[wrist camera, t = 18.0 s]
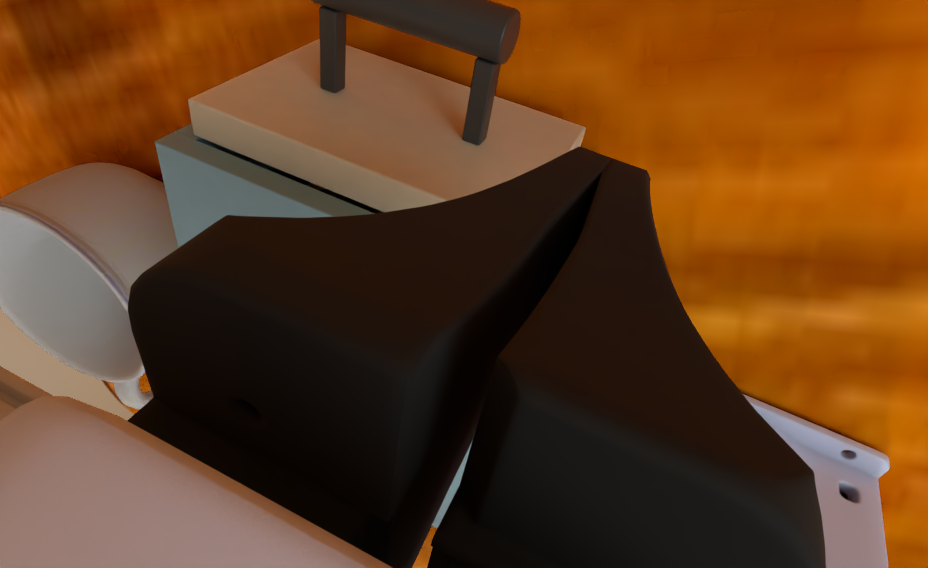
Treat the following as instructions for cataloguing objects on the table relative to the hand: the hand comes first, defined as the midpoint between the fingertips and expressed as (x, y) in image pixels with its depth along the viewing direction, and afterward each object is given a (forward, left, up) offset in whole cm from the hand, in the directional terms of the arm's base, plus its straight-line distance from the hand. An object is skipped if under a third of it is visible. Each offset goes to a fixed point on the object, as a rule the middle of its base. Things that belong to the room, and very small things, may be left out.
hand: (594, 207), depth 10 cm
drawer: (+7, +7, -10) cm, 14 cm away
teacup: (+23, +19, -11) cm, 32 cm away
